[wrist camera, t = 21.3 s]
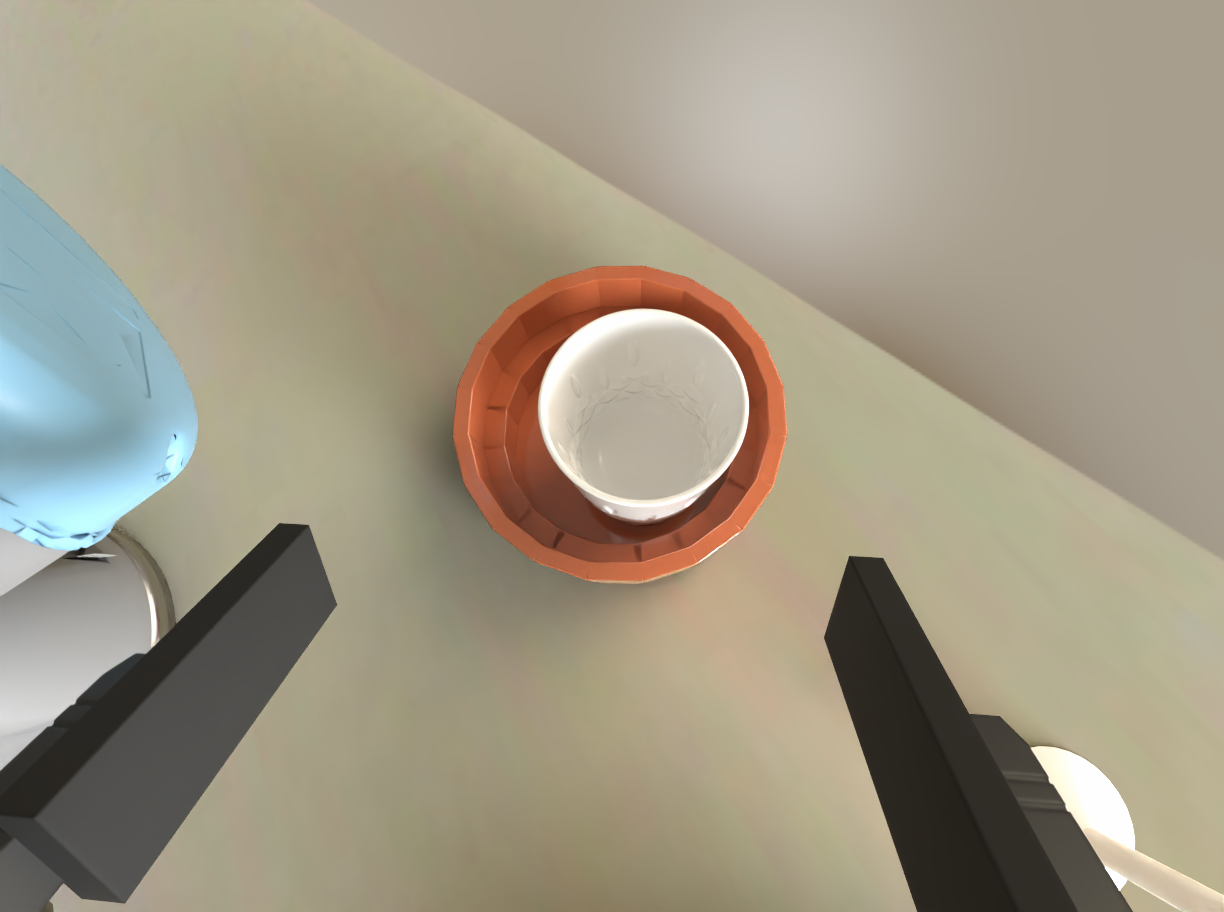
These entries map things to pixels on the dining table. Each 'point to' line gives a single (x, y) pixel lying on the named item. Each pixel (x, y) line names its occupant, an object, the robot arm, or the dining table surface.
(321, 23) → the dining table surface
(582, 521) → the terracotta bowl
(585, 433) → the white cup
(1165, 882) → the champagne flute
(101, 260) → the robot arm
